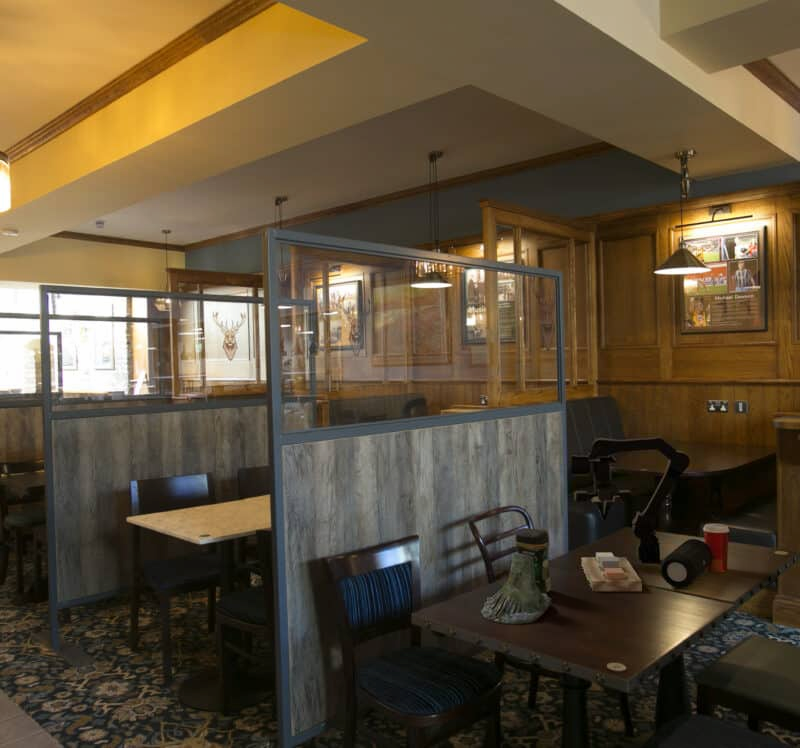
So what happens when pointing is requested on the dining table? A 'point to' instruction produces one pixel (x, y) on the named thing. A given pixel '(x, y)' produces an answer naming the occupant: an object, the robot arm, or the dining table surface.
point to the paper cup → (717, 545)
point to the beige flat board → (600, 584)
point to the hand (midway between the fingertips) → (604, 521)
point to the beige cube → (603, 556)
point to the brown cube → (614, 574)
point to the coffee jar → (535, 554)
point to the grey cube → (608, 562)
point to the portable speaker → (686, 563)
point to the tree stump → (517, 595)
